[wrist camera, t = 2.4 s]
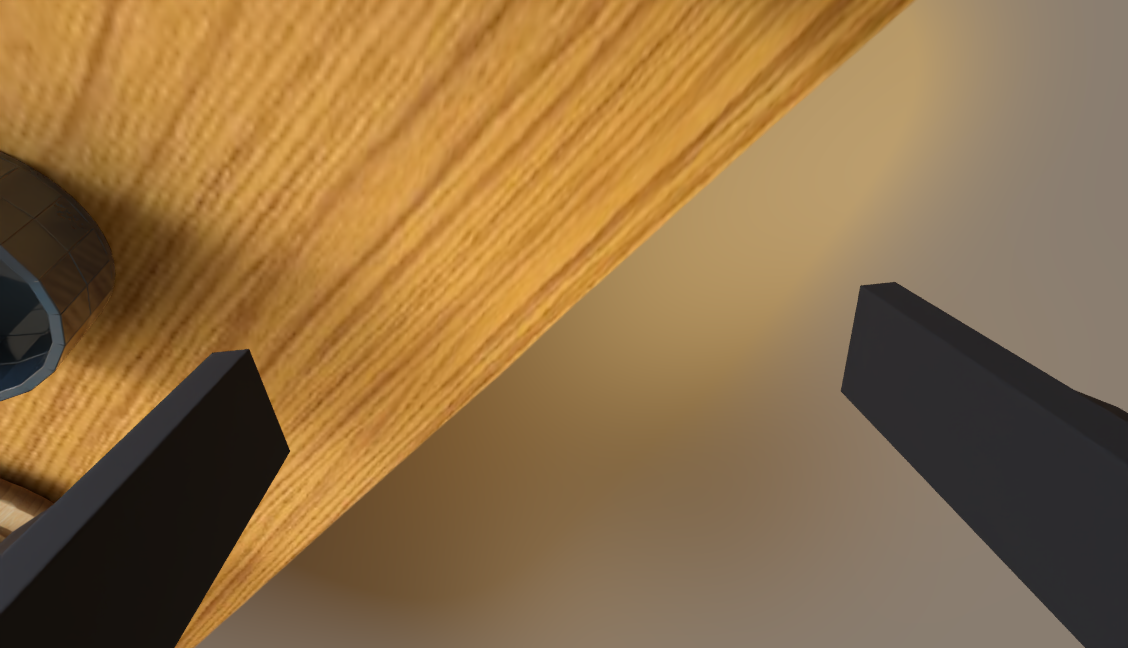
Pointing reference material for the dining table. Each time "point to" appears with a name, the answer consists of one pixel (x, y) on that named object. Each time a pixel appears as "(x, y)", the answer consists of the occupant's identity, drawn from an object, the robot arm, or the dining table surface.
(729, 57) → the dining table surface
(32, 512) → the wooden plate
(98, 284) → the pot
